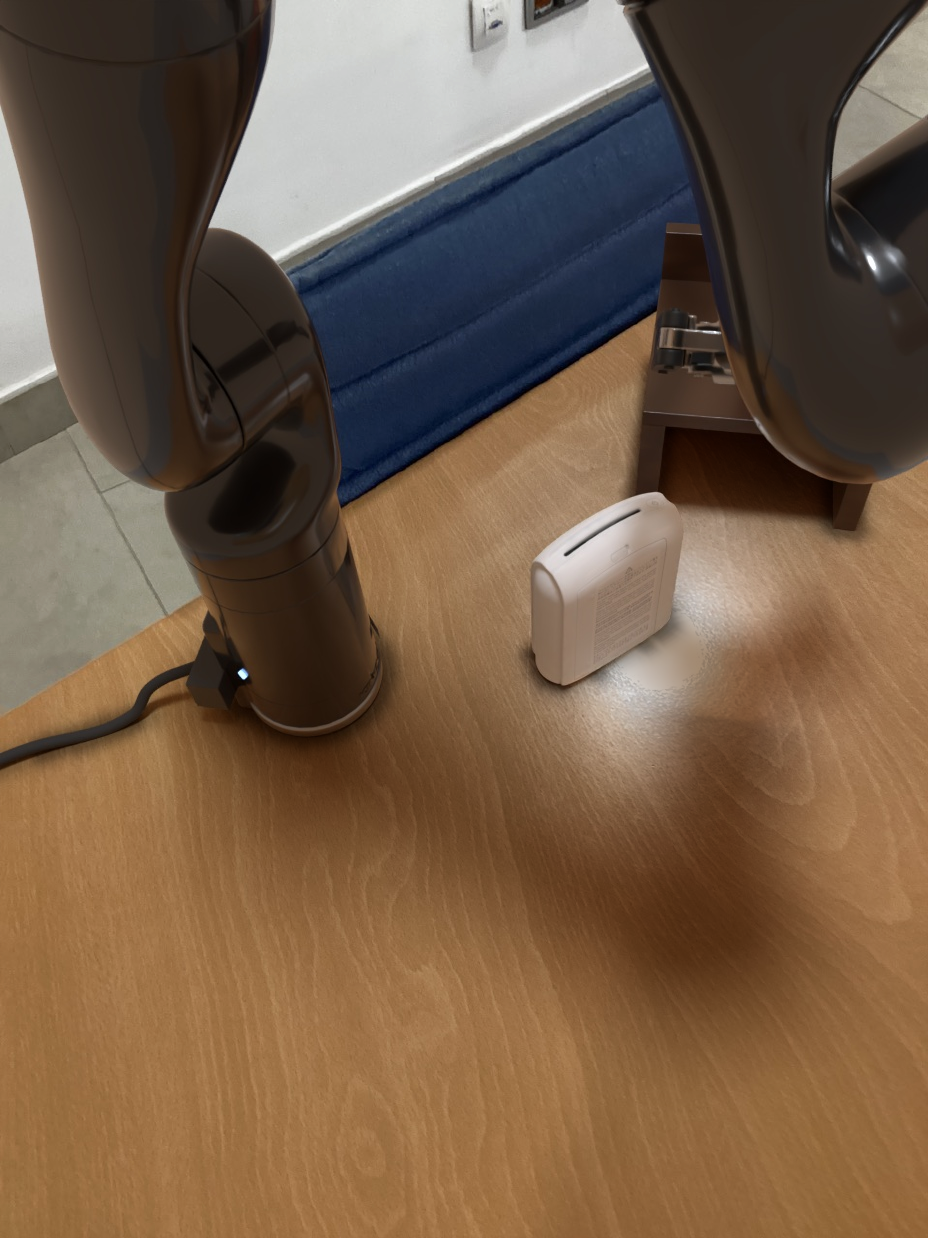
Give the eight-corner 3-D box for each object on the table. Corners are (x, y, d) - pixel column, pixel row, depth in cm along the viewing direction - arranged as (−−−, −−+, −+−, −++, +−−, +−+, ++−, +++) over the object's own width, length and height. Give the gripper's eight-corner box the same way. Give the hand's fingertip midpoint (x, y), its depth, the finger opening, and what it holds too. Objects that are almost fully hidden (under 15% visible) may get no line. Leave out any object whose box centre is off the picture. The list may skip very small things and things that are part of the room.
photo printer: (640, 583, 76) (653, 463, 65) (679, 623, 73) (699, 505, 63) (522, 654, 73) (516, 541, 63) (559, 698, 71) (559, 588, 61)
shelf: (634, 508, 80) (646, 366, 68) (652, 369, 88) (667, 221, 76) (855, 530, 77) (908, 385, 65) (853, 385, 85) (899, 234, 74)
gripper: (1048, 247, 40) (938, 298, 55) (662, 226, 42) (662, 281, 58) (1011, 450, 41) (914, 443, 57) (640, 419, 43) (646, 421, 59)
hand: (787, 361), depth 57 cm, fingers open, 8 cm apart
